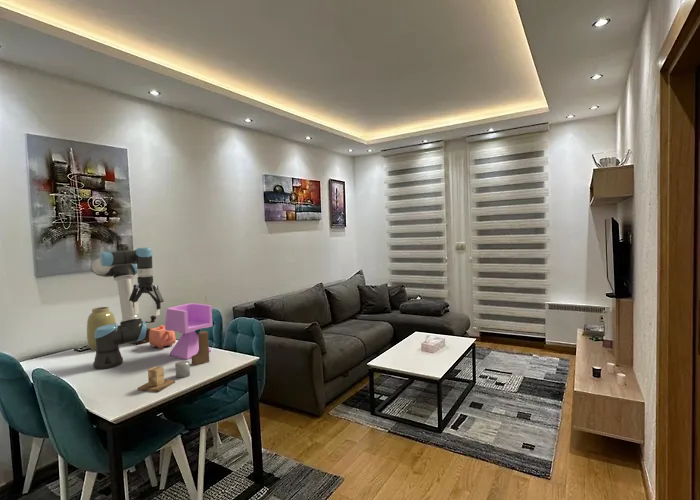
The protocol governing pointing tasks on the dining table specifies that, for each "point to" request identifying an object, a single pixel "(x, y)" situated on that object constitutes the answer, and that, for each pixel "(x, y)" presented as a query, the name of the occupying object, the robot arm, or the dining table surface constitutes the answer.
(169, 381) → the walnut board
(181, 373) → the grey dome cap
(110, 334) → the robot arm
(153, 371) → the oak block
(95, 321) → the vase
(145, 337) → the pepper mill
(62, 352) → the dining table surface
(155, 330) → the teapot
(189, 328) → the chair
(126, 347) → the dining table surface
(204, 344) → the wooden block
